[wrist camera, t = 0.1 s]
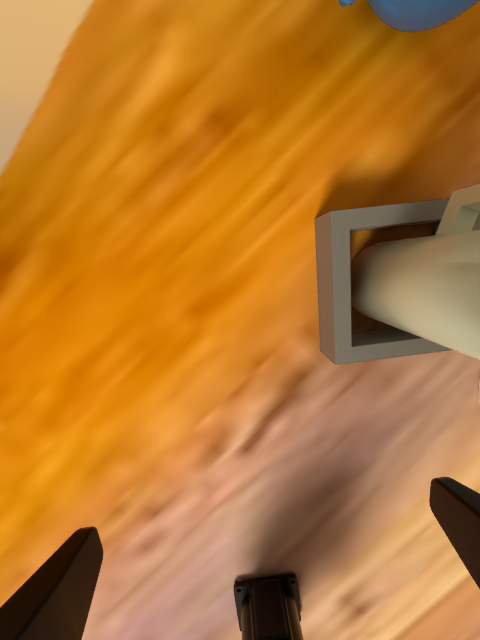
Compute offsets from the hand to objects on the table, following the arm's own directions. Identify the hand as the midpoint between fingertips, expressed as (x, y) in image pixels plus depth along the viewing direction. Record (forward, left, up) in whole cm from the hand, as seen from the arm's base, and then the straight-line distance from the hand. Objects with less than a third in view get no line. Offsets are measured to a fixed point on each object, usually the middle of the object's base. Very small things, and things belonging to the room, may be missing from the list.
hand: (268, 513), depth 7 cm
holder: (+4, -12, -15) cm, 19 cm away
